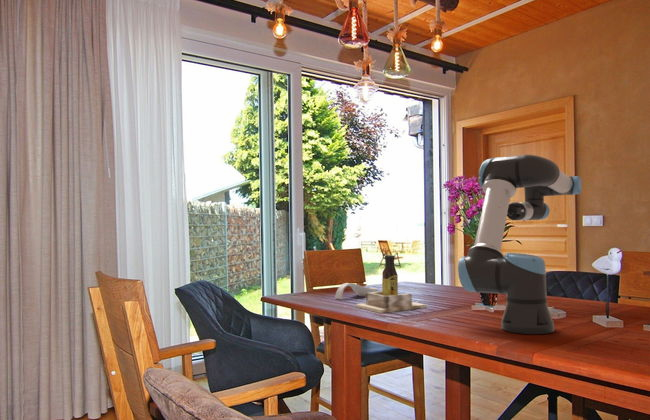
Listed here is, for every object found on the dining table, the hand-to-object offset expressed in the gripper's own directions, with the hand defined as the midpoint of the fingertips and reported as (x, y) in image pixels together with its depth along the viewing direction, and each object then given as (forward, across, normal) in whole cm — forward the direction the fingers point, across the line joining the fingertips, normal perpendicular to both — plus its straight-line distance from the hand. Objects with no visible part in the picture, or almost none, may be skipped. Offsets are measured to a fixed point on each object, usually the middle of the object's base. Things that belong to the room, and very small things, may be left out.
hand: (482, 211), depth 197 cm
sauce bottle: (+30, +22, -37) cm, 53 cm away
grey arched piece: (+25, +56, -38) cm, 73 cm away
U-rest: (+30, +22, -38) cm, 53 cm away
